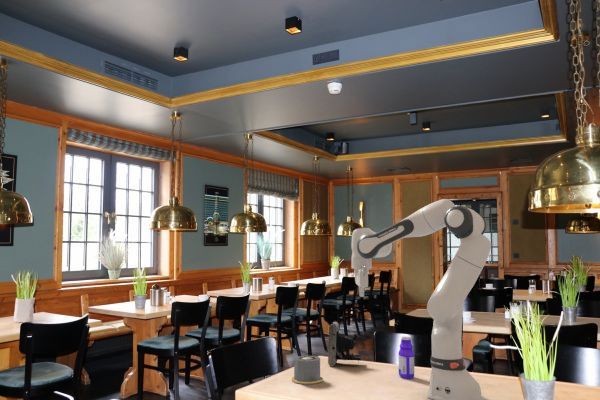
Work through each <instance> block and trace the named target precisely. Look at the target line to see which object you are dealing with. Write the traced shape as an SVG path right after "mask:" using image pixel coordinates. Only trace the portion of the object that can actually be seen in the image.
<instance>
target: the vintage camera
mask: <svg viewBox="0 0 600 400" xmlns="http://www.w3.org/2000/svg"><path fill="white" fill-rule="evenodd" d="M358 337H359V335H358V334H357V333H354V334H353V336H352V337H351V336H349V335H346V334H344V333H343V334H342V333H340V323H339V322H338V321H336V320H334V321H333V322H331V324H330V325H329V327H328V344H327V345H328V347H327V348H328V351H327V354H328V355H327V363H328V365H329V367H334V366H336V363H337V362H338V360H339V361H357V362H358V363H360V361H362V359H363V356H362V354H354V353H353V352H352V353H350V350H351V351H352V350H353V349H354V348H355V345H356V342H357V341H356V340H357V339H358Z"/></svg>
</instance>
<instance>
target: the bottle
mask: <svg viewBox="0 0 600 400" xmlns="http://www.w3.org/2000/svg"><path fill="white" fill-rule="evenodd" d="M400 337H401V339H400V344H399V351H398V376H399V377H400V378H402V379H405V380H411V379H414V378H415V353H414V350H413V348H414V347H413V344H412V336H410V335H401V336H400Z"/></svg>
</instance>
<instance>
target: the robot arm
mask: <svg viewBox="0 0 600 400" xmlns="http://www.w3.org/2000/svg"><path fill="white" fill-rule="evenodd" d="M444 228H446V229H447V230H448V231H449V232H451V234H452V235H453V236H454V237H455V238H456V239H457V240H460V244H459V248H458V249H457V251H456V253H455V255H454V256H453V258H452V261H451V262H450V264H449V265H448V268H447V270H446V272H445V273H444V274H443V277H442V278H441V279H440V281H439V282H438V284H437V286H436V287H435V289H434V291H433V292H432V294H431V295H430V298H428V301H427V304H426V310H427V313H428V315H429V316H430V317H431V318H432V320H433V321H432V322H433V324H432V325H433V326H432V330H431V339H430V340H431V355H430V366H431V371H430V377H429V387H428V392H427V398H428V399H430V400H489V399H488V398H486V397H485V396H482V388H481V385H480V383H479V382H478V381H477V380H476V379H475V377H473V376H472V374H471V373H470V372H469V371H468V370H467V365H469V364H468V361H464V357H463V352H462V349H463V348H462V345H463V344H462V335H463V334H462V333H463V332H462V331H463V319H464V317H463V316H464V301H465V300H466V298H467V297H468V295H469V293H470V292H471V290H472V288H473V287H474V286H475V284H476V282H477V280H478V278H479V277H480V275H481V273H482V270H483V268H484V267H485V265H486V263H487V260H488V258H489V255H490V253H491V249H492V242H491V240H490V239H489V238H488V237H487V236H485V233H486V231H487V221H486V220H485V217H483V215H482V214H480V213H478V212H476V211H475V210H474V209H472V208H468V207H466V206H464V205H463V206H462V205H455V203H454V202H453V201H451V200H450V199H448V198H442V199H439V200H437V201H434V202H431V203H429V204H427V205H425V206H424V207H421V208H419V209H418V210H416V211H415V212H413V213H411V214H410V215H408V216H406V217H404V218H402V219H401V220H400V221H399V222H397V223H394V224H392V225H389V226H388V227H386V228H384V229H382V230H379V231H377V232H376V231H373V230H372V229H371V227H358V228H355V229H354V230H353V231H352V233H351V252H352V253H351V259H350V260H351V269H352V270H353V272H354V282H355V284H356V285H357V286H358V292H359V293H358V295H359V297H360V298H364V297H365V291H366V290H365V289H366V288H369V273H370V269H371V270H372V268H373V265H372V264H373V263H372V261H373V260H372V259H373V258H374V259H375V258H376V259H377V258H385V257H388V256H389V255H390V254H391V253H392V251H393V243H395V242H397V241H399V240H401V239H407V238H421V237H425V236H428V235H429V236H430V235H431V234H434V233H435V232H438V231H440V230H441V229H444Z"/></svg>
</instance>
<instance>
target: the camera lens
mask: <svg viewBox="0 0 600 400" xmlns="http://www.w3.org/2000/svg"><path fill="white" fill-rule="evenodd" d="M300 359H301V360H314V358H311V357H303V358H300Z"/></svg>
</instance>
